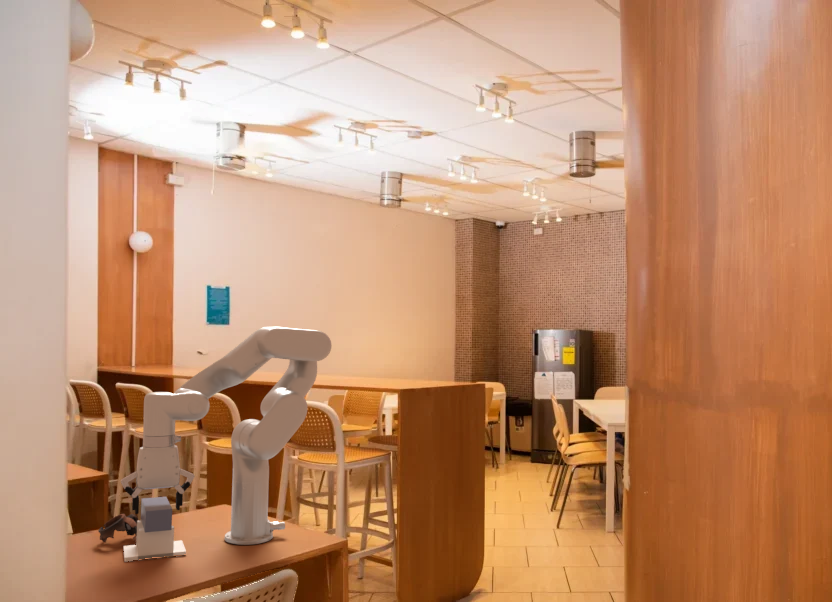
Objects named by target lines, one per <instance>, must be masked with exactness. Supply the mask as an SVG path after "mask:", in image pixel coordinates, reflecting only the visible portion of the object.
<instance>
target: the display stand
mask: <svg viewBox="0 0 832 602" xmlns="http://www.w3.org/2000/svg"><path fill="white" fill-rule="evenodd" d="M123 551H124V552H123V560H124V563H127V562H128V561H129V562H134V561H133V560H138V561H140V560H139V559H145V558H152V557H164V556H174V555H184V554H186V555H187V550H186V547H185V545H184V541H183V540H181V539H180V540H175V526H174V525H172V530H166V531H156V532H145V531H144V527H143V524H142V521H141V519H140V520H139V519H138V521H137V541H136V545H135V544H130V545H129V544H128V545H123ZM129 562H128V563H129Z"/></svg>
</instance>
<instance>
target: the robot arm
mask: <svg viewBox="0 0 832 602" xmlns="http://www.w3.org/2000/svg"><path fill="white" fill-rule="evenodd" d="M331 351H332V341H331V338H330V337H329V335H327V334H326V332H324V331H322V330H316V329H304V328H303V329H302V328H293V327H283V326H262V327H261V328H258V329H256V330H255V331H254V332H253V333H251V334H250V335H249V336H248V337H246V338H245V339H244V340H242V342H240V343H239V344H238V345H237V346H235V347H234V348H233V349H231V350H230V351H229V352H228V353H227V354H225V355H224V356H223V357H221V358H219V359H218V360H217V361H215V362H213V363H212V364H210V365H209V366H207V367H205V368H204V369H202V370H201V371H199V372H198V373H196V374H195V375H194V376H192V377H191V378H190V379H188V380H187V381H186V382H185V383H183V384H182V385H181V386H180V387H179V388H178V389H176V390H175V391H174V392H173V393H172V392H169V391H154V392H152V391H151V392H149V393H146V394H145V396H144V398H143V399H144V400H143V429H142V430H143V431H142V433H143V435H142V446H141V447H139V449H138V455H137V461H136V470H135V471H134V472H132V473H129V475H127V476H124V477H123V478H122V479H120V483H121V486H122V487H123V489H124V491H125V492H126V493H127V494H128V495H129V496H130V497H132V502H131V510H132V511H134V513H135V514H134V515H138V514H139V512H140V511H139V510H140V497H139V495H140V493H141V492H142V491H143V490H155V489H166V488H174V489H175V490H176V493H175V509H176V511H180V509H181V507H182V506H183V501H184V500H183V498H184V495H183V494H184V493H185V491H186V490H188V488H190V486H191V484H192V482H193V481H194V479H195V473H192V472H190V471H187V470H185V469H182V468H181V467H180V456H179V448H178V445H176V444H177V443H178V442H181V441H182V436H181V435H176V421H187V422H188V421H189V422H190V421H191V422H194V421H195V422H196V421H199V420H201V419H204V417H205V416H206V415H207V414H208V413H209V411H210V406H211V405H210V401H209V399H211V398H212V397H213V396H214V395H216V394H218V393H219V392H221V391H223V390H226V389H228V388H232V387H234V386H237V385H239V384H242V383H243V382H245V381H247V380H248V379H249V378H250V377H251V376H252V375H253V374H254V373H256V372H257V371H258V370H259V369H261V368H262V367H263V366H264V365H265V364H267V362H269V361H270V360H271V359H278V360H279V359H281V360H289V363H288V366H287V368H286V370H285V373H283V375H282V376H281V377H280V378H279V380H277V382H276V383H275V384H274V386H272V388H271V389H270V390H269V391H268V392H267V394H266V395H265V396H264V398H263V399H262V401H261V403H260V414H261V415H262V418H261V420H259V419H255V418H249V419H244V420H242V421H240V422H239V423H237V424H236V426H235V427H234V428H233V431H232V434H231V439H230V445H231V454H232V455H231V456H232V483H231V486H232V487H231V513H230V514H231V515H230V516H231V517H230V530H229V531H227V532H226V533H225V534H224V541H225V542H227V543H228V544H232V545H238V546H239V545H240V546H243V545H244V546H248V545H258V544H262V543H263V544H264V543H267V542H269V541H271V540H272V539H273V538H274V533H273V532H274V531H276V530H278V531H280V530H285V529H286V522H285V521H282V522H281V521H280V522H279V521H278V520H277V521H271V520H270V519H269V518H268V516H269V515H268V513H269V512H268V511H269V487H270V486H269V484H270V483H269V481H270V464H269V460H270V459H272V458H274V457H275V456H277V455H278V454H279V453H280V452H281V451H282V449H284V447H285V446H286V445H287V443H288V442H289V441H290V439H291V438H292V437H293V436H294V434H296V432H297V431H298V430H299V428H300V427H301V425H302V424H303V422H304V421H305V420H306V417H307V414H308V402H307V399H305V397H306V395H308V393H309V392H310V391H311V389H312V387H313V386H314V384H315V381H316V379H317V374H318V362H320V361H322V360H325V359H326V358H327V357H328V356H329V355H330V352H331ZM181 476H183V477H185V478H186V480H185V482H183V484H182V485H181V484H180V482H181V481H180V480H181ZM133 480H135V483H136V486H135V487H134V488H132V487H131V486H130V485H129V482H131V481H133Z"/></svg>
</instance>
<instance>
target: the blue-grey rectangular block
mask: <svg viewBox="0 0 832 602" xmlns="http://www.w3.org/2000/svg"><path fill="white" fill-rule="evenodd" d="M140 520H141V521H142V524H143V527H144V531H145V532H156V531H166V530H172V526H173V507H172V505H171V504H170V501H169V499H168V497H167V496H158V497H157V496H156V497H143V498H142V497H141V504H140Z"/></svg>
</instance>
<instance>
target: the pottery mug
mask: <svg viewBox="0 0 832 602" xmlns="http://www.w3.org/2000/svg"><path fill="white" fill-rule="evenodd" d="M138 520H139V518H138V516H137V514H133V513H132V514H128V515H127V516H126V514H125V513H121V514H117V515H116V516H113V518H111V519H109V520H108V521H106V522H105V523H104V524H103V526H101V527H100V528H99V529H98V533H99V534H100V535H99V541H102V542H103V543H107V541H108V539H109V538H111V539H115V537H114V535H115V531H117V532H126V535H127V536H134V537H132V540H133V541H134V545H135V544H136V541H137V521H138Z"/></svg>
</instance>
